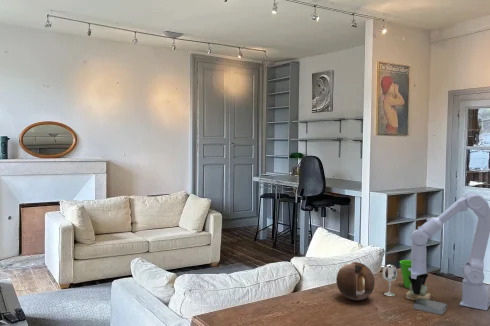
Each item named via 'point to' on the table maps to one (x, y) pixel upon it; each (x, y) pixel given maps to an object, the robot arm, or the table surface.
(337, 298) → the table surface
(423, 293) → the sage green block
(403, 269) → the cup
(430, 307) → the dock
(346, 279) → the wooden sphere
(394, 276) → the wineglass
